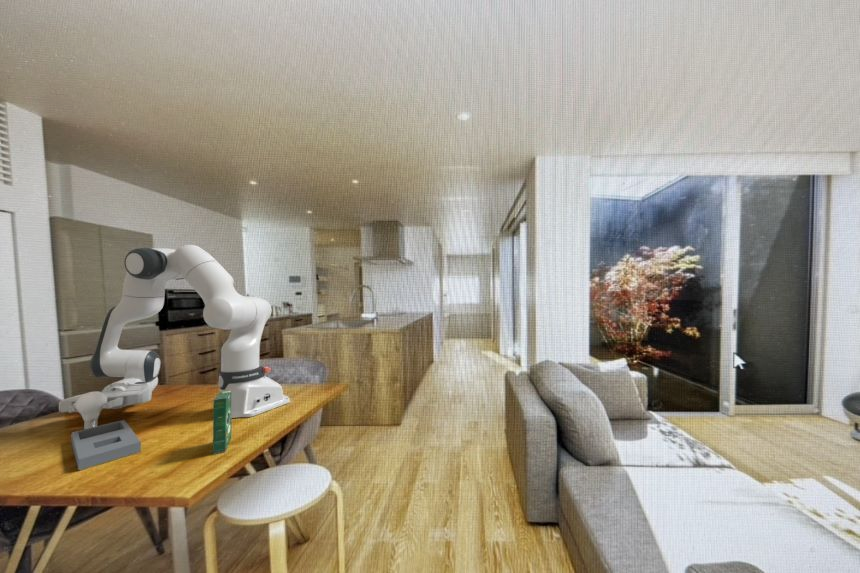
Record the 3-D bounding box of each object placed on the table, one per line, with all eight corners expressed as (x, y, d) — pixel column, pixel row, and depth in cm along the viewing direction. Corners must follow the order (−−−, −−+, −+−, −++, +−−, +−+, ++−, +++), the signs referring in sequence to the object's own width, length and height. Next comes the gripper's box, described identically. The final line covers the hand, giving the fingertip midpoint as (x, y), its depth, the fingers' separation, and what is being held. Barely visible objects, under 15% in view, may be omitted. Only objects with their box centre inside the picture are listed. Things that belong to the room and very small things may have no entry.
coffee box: (219, 440, 79) (219, 390, 79) (232, 438, 80) (232, 389, 80) (211, 455, 71) (212, 399, 72) (225, 452, 72) (226, 397, 73)
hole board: (124, 428, 88) (124, 419, 88) (140, 451, 74) (141, 441, 74) (71, 441, 80) (71, 432, 80) (78, 471, 66) (78, 459, 66)
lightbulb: (109, 423, 92) (110, 387, 93) (102, 430, 87) (103, 392, 88) (79, 428, 89) (80, 391, 89) (69, 436, 84) (71, 396, 84)
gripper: (79, 388, 97) (41, 401, 84) (157, 381, 104) (132, 392, 91) (79, 408, 97) (40, 424, 84) (156, 399, 104) (131, 413, 91)
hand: (88, 407), depth 87 cm, fingers closed on lightbulb, 6 cm apart
